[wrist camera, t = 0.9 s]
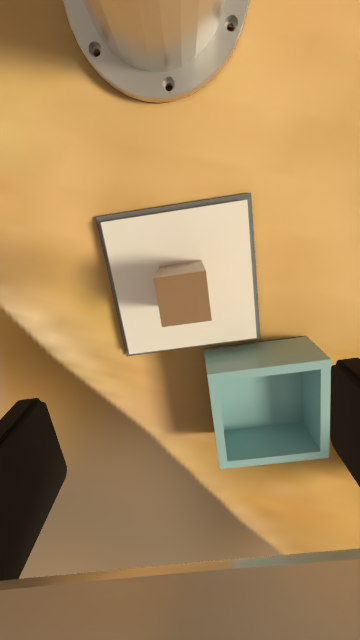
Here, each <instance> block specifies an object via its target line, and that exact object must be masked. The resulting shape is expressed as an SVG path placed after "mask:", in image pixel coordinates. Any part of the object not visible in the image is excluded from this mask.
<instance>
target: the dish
mask: <svg viewBox="0 0 360 640" xmlns="http://www.w3.org/2000/svg"><path fill="white" fill-rule="evenodd" d="M203 350H204V357H205V365H206V373H207V380H208V388H209V395H210V403H211V411H212V418H213V426H214V433H215V440H216V447H217V454H218V461H219V468H220V469H227V468H237V467H246V466H256V465H266V464H275V463H285V462H294V461H304V460H313V459H323V458H329V448H330V391H331V359H330V358H329V357H328V356H327V355H326V354H325V353H324V352H323V351H322V350H321V349H320V348H319V347H318V346H317V345H315V344H314V343H313V342H312V341H311V340H310V339H309V338H308V337H307V336H304V337H296V338H288V339H281V340H273V341H265V342H257V343H249V344H242V345H234V346H226V347H218V348H210V349H203Z"/></svg>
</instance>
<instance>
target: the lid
mask: <svg viewBox="0 0 360 640" xmlns="http://www.w3.org/2000/svg"><path fill="white" fill-rule="evenodd" d="M101 227H102V231H103V236H104V241H105V245H106V250H107V254H108V259H109V263H110V268H111V273H112V277H113V282H114V286H115V291H116V295H117V300H118V304H119V309H120V314H121V318H122V323H123V327H124V332H125V336H126V341H127V345H128V350H129V354H137V353H145V352H152V351H160V350H168V349H176V348H183V347H191V346H199V345H207V344H214V343H222V342H230V341H238V340H245V339H253V338H257V334H256V319H255V305H254V290H253V275H252V261H251V246H250V232H249V217H248V202H247V200H241V201H235V202H229V203H222V204H216V205H209V206H203V207H196V208H190V209H184V210H177V211H171V212H164V213H158V214H151V215H145V216H139V217H132V218H126V219H119V220H113V221H106V222H101Z"/></svg>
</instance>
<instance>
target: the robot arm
mask: <svg viewBox="0 0 360 640" xmlns="http://www.w3.org/2000/svg"><path fill="white" fill-rule="evenodd" d="M249 1H250V0H63V4H64V8H65V11H66V15H67V18H68V22H69V25H70V28H71V30H72V32H73V34H74V36H75V39H76V41H77V43H78V45H79V47H80V49H81V50H82V52H83V54H84V55H85V57H86V58H87V60H88V61H89V63H90V64H91V65H92V66H93V68H94V69H95V70H96V72H97V73H98V74H99V75H100V76H101V77H102V78H103V79H104V80H105V81H106V82H108V83H109V84H110V85H111V86H112V87H113V88H115V89H117V90H118V91H120V92H122V93H124V94H125V95H127V96H129V97H132V98H135V99H138V100H141V101H146V102H156V103H162V102H170V101H176V100H179V99H182V98H185V97H187V96H190V95H192V94H193V93H195V92H197V91H198V90H200V89H201V88H203V87H205V86H206V85H207V84H208V83H209V82H210V81H211V80H212V79H213V78H214V77H215V76H216V75H218V73H219V72H220V71H221V69H222V68H223V67H224V65H225V64H226V63H227V61H228V60H229V58H230V56H231V54H232V52H233V50H234V48H235V46H236V44H237V42H238V40H239V37H240V34H241V31H242V29H243V26H244V22H245V18H246V14H247V10H248V6H249ZM229 27H231V28H232V29H233V31H228V30H227V28H229ZM97 52H100V55H99V56H98V57H95V54H96V53H97ZM169 85H170V86H172V88H173V89H172V90H171V91H167V90H166V87H167V86H169ZM330 438H331V442H332V445H333V447H334V449H335V450H336V452H337V453H338V455H339V456H340V458H341V459H342V461H343V462H344V464H345V465H346V467H347V468H348V470H349V471H350V473H351V474H352V476H353V477H354V479H355V480H356V482H357V483H358V485H359V487H360V359H359V358H351V359H343V360H338V361H337V362H336V365H333V366H332V367H331V407H330ZM66 473H67V467H66V463H65V460H64V457H63V454H62V451H61V448H60V445H59V442H58V439H57V436H56V433H55V430H54V427H53V424H52V421H51V418H50V415H49V412H48V409H47V406H46V404H45V403H44V402H41V401H40V400H39V399H38V398H34V399H26V400H19V401H18V402H16V404H15V405H14V406H13V407H12V408H11V409H10V410H9V411H8V412H7V413H6V414H5V415H4V416H3V417H2V419H1V420H0V640H360V549H349V550H337V551H325V552H313V553H301V554H289V555H277V556H266V557H254V558H243V559H230V560H221V561H220V560H219V561H208V562H196V563H186V564H174V565H163V566H152V567H141V568H130V569H119V570H109V571H97V572H87V573H77V574H66V575H55V576H45V577H35V578H24V579H19V576H20V574H21V572H22V570H23V568H24V566H25V564H26V561H27V559H28V557H29V555H30V553H31V550H32V549H33V546H34V544H35V542H36V540H37V538H38V536H39V534H40V531H41V529H42V527H43V525H44V523H45V521H46V518H47V516H48V514H49V512H50V510H51V508H52V505H53V503H54V501H55V499H56V497H57V495H58V493H59V490H60V488H61V486H62V484H63V482H64V480H65V477H66Z"/></svg>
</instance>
